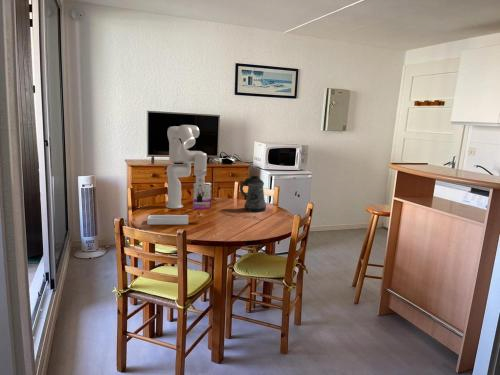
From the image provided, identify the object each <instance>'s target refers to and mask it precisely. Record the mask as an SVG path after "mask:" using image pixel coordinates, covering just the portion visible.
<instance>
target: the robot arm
mask: <svg viewBox="0 0 500 375" xmlns="http://www.w3.org/2000/svg"><path fill="white" fill-rule="evenodd" d="M166 132H167V139H168V143H169V145H168V147H169V150H168V152H169V153H168V157H169V161H170V163H174V164H170V165H168V166H167V167H166V174H167V203H166V205H165V208H167V209H181V208H184V205H183V204H182V183H181V182H182V181H180V179H179V178H188V177H190V176H191V173H192V164H193V165H194V166H193V175H194V176H195V183H196V191H197V192H199V193H197V202H202V191H203V192H204V184H205V183H206V182H205V180H206V178H205V176H207V164H208V163H207V162H208V161H207V160H208V155H207V153H205V152H203V151H201V150H189V149H190V148H193V146H194V145H195V144H196V139H197V138H199V136H200V129H199V127H198V126H197V125H193V124H181V125H179V126H176V125H174V126H169V127H168V128H167V131H166ZM181 163H182V164H181ZM198 190H199V191H198Z"/></svg>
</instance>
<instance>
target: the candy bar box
mask: <svg viewBox="0 0 500 375" xmlns="http://www.w3.org/2000/svg"><path fill="white" fill-rule="evenodd" d="M192 188H193V194H192V196H193V198H192V207H193V208H192V209H193V210H212V183H211V182H205V184H204V192H203V191H202V202H197V193H199V192H197V191H196V182H193V186H192ZM198 191H199V190H198Z"/></svg>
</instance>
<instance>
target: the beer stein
mask: <svg viewBox="0 0 500 375" xmlns="http://www.w3.org/2000/svg"><path fill="white" fill-rule="evenodd" d="M264 185H265V182H264V181H263V180H262V179H261V178H260V177H259V176H257V175H256V176H255V175H253V176H251V177H248V178H245V179H244V181H243V182H240V185H239V192H240V194H241V196H242V197H243V198H244V199H245V202H244V206H243V207H244V210H245V211H246V212H250V213H263V212H266V209H267V203H266V200H265V191H264ZM245 186H246V187H247V193H245V192H244V190H243V188H244V187H245Z"/></svg>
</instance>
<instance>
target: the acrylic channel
mask: <svg viewBox="0 0 500 375" xmlns="http://www.w3.org/2000/svg"><path fill="white" fill-rule="evenodd" d="M146 220H147V221H146V222H147V224H146V225H189V215H188V214H183V215H182V214H181V215H180V214H178V215H177V214H176V215H175V214H172V215H171V214H162V215H161V214H159V215H158V214H152V215H151V214H148V216H147V219H146Z"/></svg>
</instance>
